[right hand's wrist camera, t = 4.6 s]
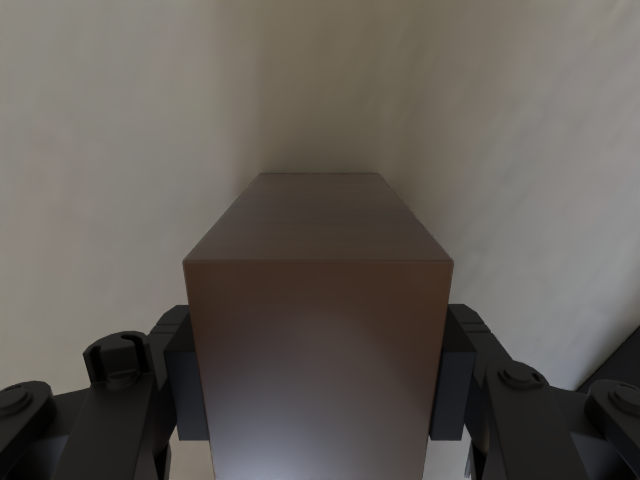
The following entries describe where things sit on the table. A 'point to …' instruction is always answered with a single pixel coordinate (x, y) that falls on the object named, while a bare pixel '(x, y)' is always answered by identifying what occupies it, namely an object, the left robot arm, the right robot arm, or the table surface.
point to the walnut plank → (318, 330)
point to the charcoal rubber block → (620, 365)
